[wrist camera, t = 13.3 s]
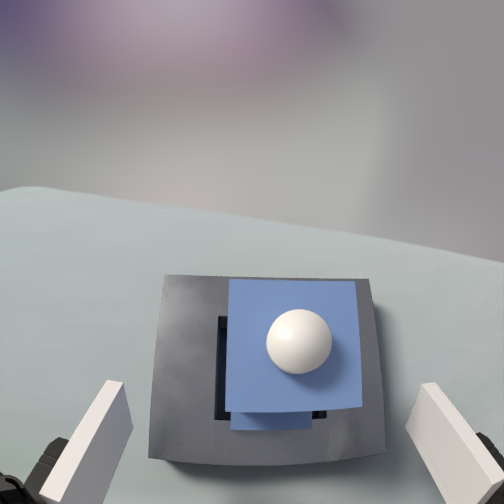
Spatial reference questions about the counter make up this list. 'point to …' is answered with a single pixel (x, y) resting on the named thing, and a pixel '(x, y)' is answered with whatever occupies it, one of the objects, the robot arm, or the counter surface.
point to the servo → (291, 352)
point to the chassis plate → (206, 388)
